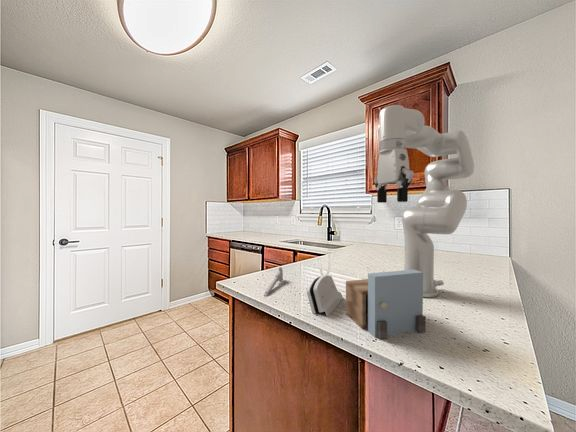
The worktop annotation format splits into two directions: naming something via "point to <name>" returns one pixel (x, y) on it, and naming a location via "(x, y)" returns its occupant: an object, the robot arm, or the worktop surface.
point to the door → (395, 300)
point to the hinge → (323, 295)
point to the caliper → (277, 278)
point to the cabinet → (359, 308)
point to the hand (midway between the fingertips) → (391, 202)
